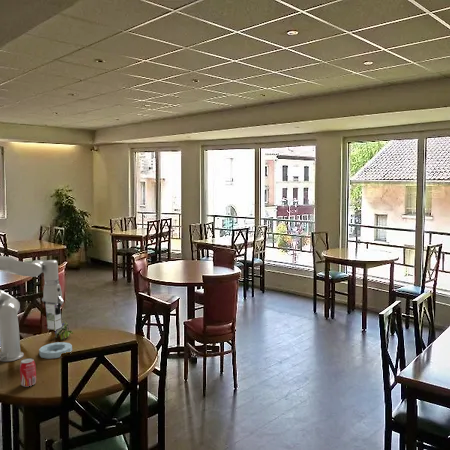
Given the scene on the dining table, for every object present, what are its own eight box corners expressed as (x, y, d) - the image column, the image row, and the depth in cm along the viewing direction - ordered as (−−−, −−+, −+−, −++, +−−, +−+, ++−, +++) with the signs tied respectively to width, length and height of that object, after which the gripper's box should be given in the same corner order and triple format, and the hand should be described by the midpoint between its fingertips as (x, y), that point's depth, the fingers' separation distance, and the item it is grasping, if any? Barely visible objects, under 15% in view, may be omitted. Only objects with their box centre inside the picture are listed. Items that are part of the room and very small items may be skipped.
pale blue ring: (56, 360, 259) (55, 354, 259) (33, 355, 267) (32, 350, 266) (78, 349, 275) (77, 344, 274) (55, 345, 282) (55, 340, 282)
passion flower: (58, 346, 297) (54, 328, 302) (75, 340, 300) (71, 322, 305) (55, 341, 287) (51, 322, 292) (73, 335, 290) (69, 317, 295)
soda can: (23, 381, 232) (22, 358, 231) (38, 381, 233) (37, 357, 232) (18, 388, 225) (17, 363, 224) (34, 387, 226) (32, 362, 225)
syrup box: (62, 327, 271) (60, 302, 270) (55, 330, 265) (53, 304, 264) (53, 326, 273) (52, 301, 271) (46, 329, 267) (45, 304, 266)
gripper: (68, 282, 266) (70, 313, 268) (45, 279, 273) (47, 310, 275) (58, 284, 259) (60, 317, 261) (35, 282, 267) (37, 313, 269)
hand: (53, 313), depth 268 cm, fingers closed on syrup box, 6 cm apart
